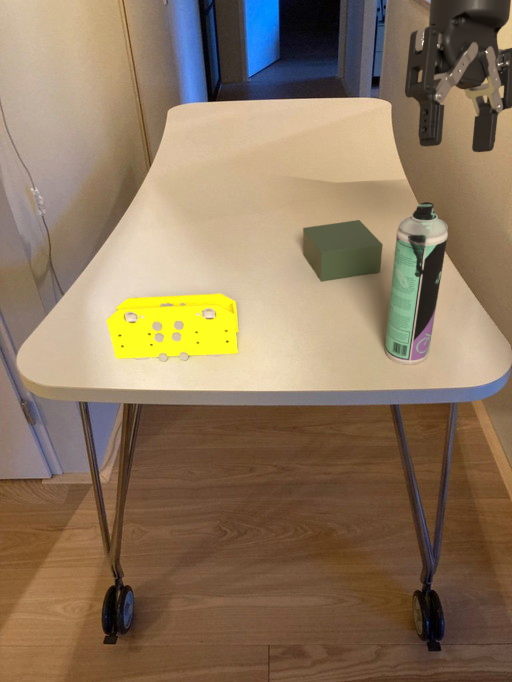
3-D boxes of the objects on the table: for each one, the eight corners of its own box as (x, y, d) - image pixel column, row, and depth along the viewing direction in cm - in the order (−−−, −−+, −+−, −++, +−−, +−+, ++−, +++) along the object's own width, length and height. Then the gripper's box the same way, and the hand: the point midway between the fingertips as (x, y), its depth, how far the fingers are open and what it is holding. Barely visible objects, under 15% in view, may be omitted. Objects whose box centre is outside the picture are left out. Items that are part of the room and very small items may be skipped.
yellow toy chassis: (116, 365, 72) (102, 312, 67) (124, 340, 77) (112, 288, 72) (238, 360, 72) (233, 306, 67) (239, 335, 76) (234, 282, 71)
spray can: (432, 364, 69) (458, 213, 57) (388, 365, 69) (405, 215, 57) (422, 339, 73) (445, 194, 62) (381, 340, 73) (395, 196, 62)
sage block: (380, 272, 89) (382, 244, 86) (321, 281, 87) (321, 253, 84) (357, 246, 97) (359, 219, 94) (303, 254, 95) (303, 227, 92)
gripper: (457, -61, 47) (442, 140, 51) (549, -22, 55) (530, 150, 58) (392, -29, 53) (382, 147, 57) (483, 1, 61) (469, 155, 64)
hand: (457, 148), depth 57 cm, fingers open, 8 cm apart
